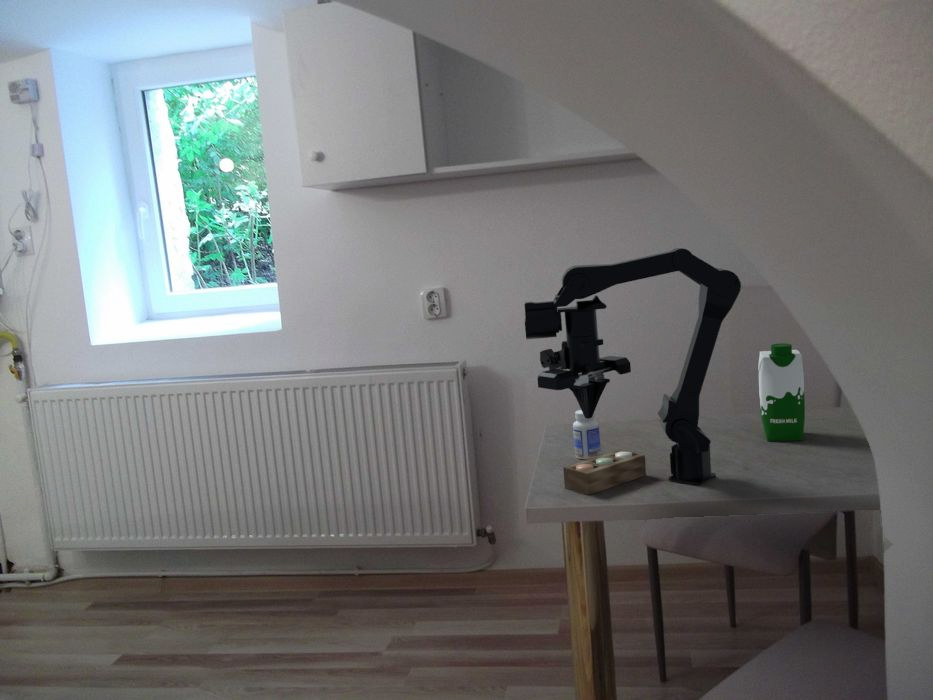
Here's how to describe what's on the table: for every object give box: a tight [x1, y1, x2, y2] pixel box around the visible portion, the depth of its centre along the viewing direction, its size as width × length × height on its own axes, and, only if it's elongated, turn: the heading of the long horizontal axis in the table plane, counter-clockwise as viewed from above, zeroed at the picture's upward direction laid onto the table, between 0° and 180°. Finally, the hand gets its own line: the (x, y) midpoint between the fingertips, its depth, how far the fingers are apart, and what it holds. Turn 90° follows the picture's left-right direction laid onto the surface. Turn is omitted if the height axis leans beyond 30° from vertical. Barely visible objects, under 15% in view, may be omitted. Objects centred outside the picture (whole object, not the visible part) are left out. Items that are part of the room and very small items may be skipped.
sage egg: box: [596, 458, 613, 465], centre depth 158 cm, size 3×3×2 cm
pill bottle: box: [572, 409, 602, 461], centre depth 175 cm, size 5×5×10 cm
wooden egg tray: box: [563, 448, 647, 496], centre depth 158 cm, size 15×6×4 cm, turn 125°
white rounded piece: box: [615, 451, 632, 459], centre depth 161 cm, size 3×3×2 cm
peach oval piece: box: [576, 464, 593, 472], centre depth 155 cm, size 3×3×2 cm
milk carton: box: [757, 342, 806, 442], centre depth 176 cm, size 9×9×20 cm
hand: (588, 418), depth 155 cm, fingers closed
